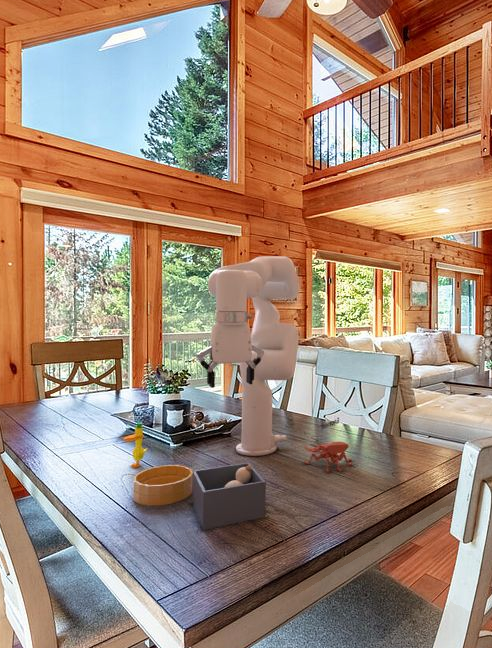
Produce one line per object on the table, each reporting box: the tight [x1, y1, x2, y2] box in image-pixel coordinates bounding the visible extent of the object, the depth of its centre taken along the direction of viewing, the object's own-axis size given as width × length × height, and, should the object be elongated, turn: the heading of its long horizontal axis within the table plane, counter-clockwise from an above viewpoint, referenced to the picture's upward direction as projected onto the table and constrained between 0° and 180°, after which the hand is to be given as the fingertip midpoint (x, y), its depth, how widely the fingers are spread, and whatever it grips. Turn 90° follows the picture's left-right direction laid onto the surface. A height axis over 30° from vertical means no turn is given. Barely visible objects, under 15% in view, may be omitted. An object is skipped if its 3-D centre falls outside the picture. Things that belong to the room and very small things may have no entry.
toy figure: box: [122, 422, 148, 469], centre depth 126 cm, size 7×4×12 cm, turn 138°
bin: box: [191, 461, 267, 531], centre depth 100 cm, size 13×13×8 cm
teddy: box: [224, 465, 252, 488], centre depth 103 cm, size 5×5×9 cm
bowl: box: [132, 464, 194, 507], centre depth 107 cm, size 13×13×5 cm
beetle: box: [303, 417, 354, 473], centre depth 131 cm, size 15×12×13 cm
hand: (231, 385), depth 115 cm, fingers open, 9 cm apart
